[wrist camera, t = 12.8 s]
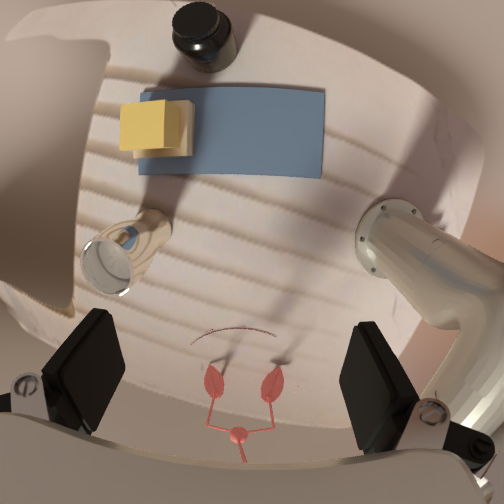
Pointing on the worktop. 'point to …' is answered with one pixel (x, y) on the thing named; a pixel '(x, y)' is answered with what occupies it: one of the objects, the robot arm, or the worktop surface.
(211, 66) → the supplement bottle
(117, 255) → the beer glass
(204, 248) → the worktop surface
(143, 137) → the mustard block
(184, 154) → the beech base block
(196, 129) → the board
